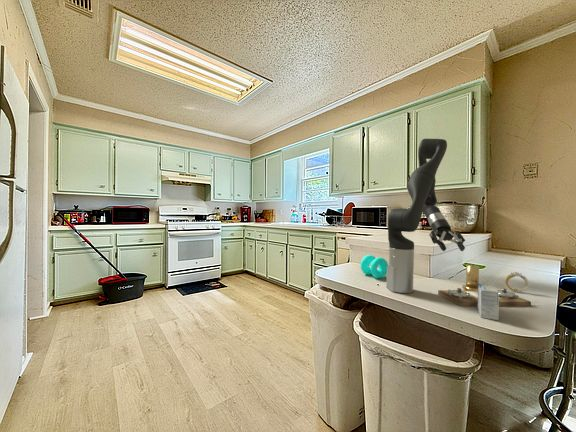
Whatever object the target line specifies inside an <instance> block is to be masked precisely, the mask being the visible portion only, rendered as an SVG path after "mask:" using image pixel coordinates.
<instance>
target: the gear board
mask: <svg viewBox="0 0 576 432" xmlns="http://www.w3.org/2000/svg"><path fill="white" fill-rule="evenodd" d="M448 290H449V289H448ZM448 290H447V289H446V290H445V289H443V290H441V289H440V290H438V292H437V295H439V296H441V297H442V298H444V299H446V300H449V302H452V303H454V304H456V306H460V307H478V290H463V289H461V291H464V292H469V293H470V295H471V299H468V298H462V299H459V298H458V297H454V296H449V293H448ZM531 306H532V302H531V301H530V300H528V299H524V298H522V297H520V296H518V297H517V299H515V298H509V299H506V298H503V297H499V307H531Z"/></svg>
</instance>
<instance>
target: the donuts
mask: <svg viewBox="0 0 576 432" xmlns="http://www.w3.org/2000/svg"><path fill="white" fill-rule="evenodd" d="M387 265H389V262H388V261H387V260H386V259H385V258H383V257H375V256H374V255H372V254H367V255H365V256H363V257H362V259H361V260H360V270H361V272H362V273H364V274H365V275H367V276H368V275H369V276H370V274H371V275H372V276H373V277H374V278H376V279H382V278H384V277H385V276H387Z"/></svg>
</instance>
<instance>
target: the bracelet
mask: <svg viewBox="0 0 576 432" xmlns="http://www.w3.org/2000/svg"><path fill="white" fill-rule="evenodd" d="M522 274H523V273H522V272H520V273H519V272H518V271H514V272H513V271H512V272H511V273H509V274H507V276H506V277H505V280H504V281H505V284H506V285H505V286H506V287H507V288H508V289H509V290H511V291H512V292H514V293H515V292H516V293H519V292H524V291H526V290H527V289H528V287H529V285H530V284H529V280H528V278H527V276H524V275H522ZM515 277H519V278H521V279H523V281H524V283H525V285H524V287H523V288H520V289H517V288H513V287H511V286H510V284H509V280H510V279H512V278H515Z"/></svg>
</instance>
